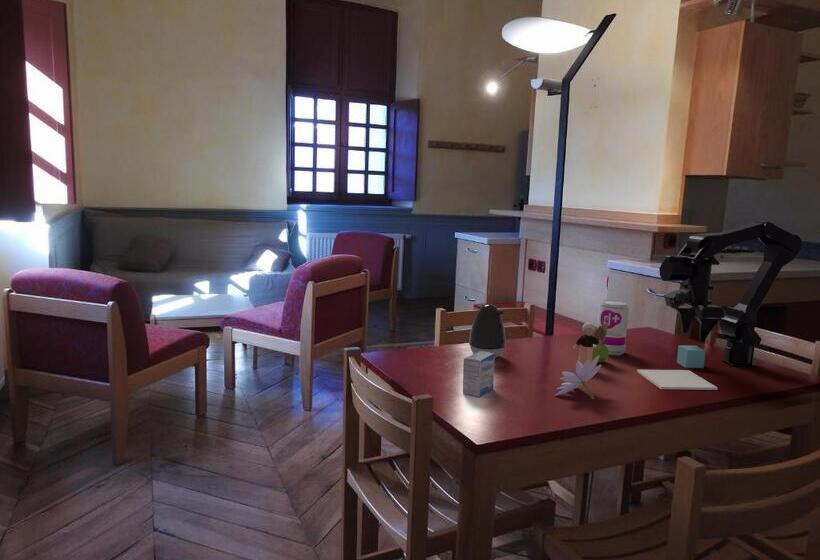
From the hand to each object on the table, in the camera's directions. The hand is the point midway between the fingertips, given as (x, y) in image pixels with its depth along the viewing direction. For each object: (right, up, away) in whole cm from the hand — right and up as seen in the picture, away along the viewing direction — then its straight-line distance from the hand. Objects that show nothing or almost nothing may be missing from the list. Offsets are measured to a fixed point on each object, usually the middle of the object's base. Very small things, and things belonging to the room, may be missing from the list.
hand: (693, 336), depth 165 cm
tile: (-11, -10, -13) cm, 20 cm away
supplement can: (-19, -6, +12) cm, 23 cm away
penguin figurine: (-56, -6, +4) cm, 57 cm away
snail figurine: (-25, -7, +2) cm, 27 cm away
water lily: (-39, -11, -25) cm, 48 cm away
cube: (0, -8, +1) cm, 8 cm away
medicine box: (-62, -11, -25) cm, 68 cm away
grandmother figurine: (-31, -8, -5) cm, 33 cm away
